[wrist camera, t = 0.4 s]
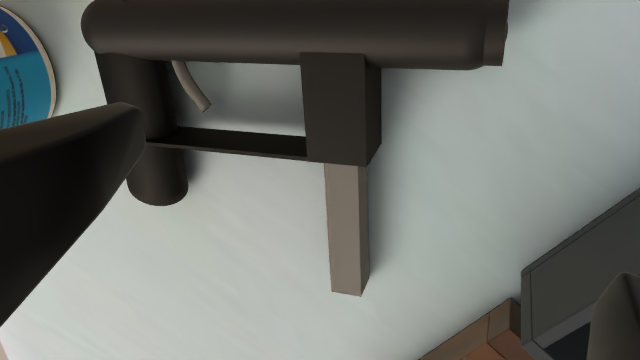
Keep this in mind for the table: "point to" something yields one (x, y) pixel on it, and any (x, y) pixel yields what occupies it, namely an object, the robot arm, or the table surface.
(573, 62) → the table surface
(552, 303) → the tote
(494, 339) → the frame
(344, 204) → the door handle
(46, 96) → the beverage bottle
